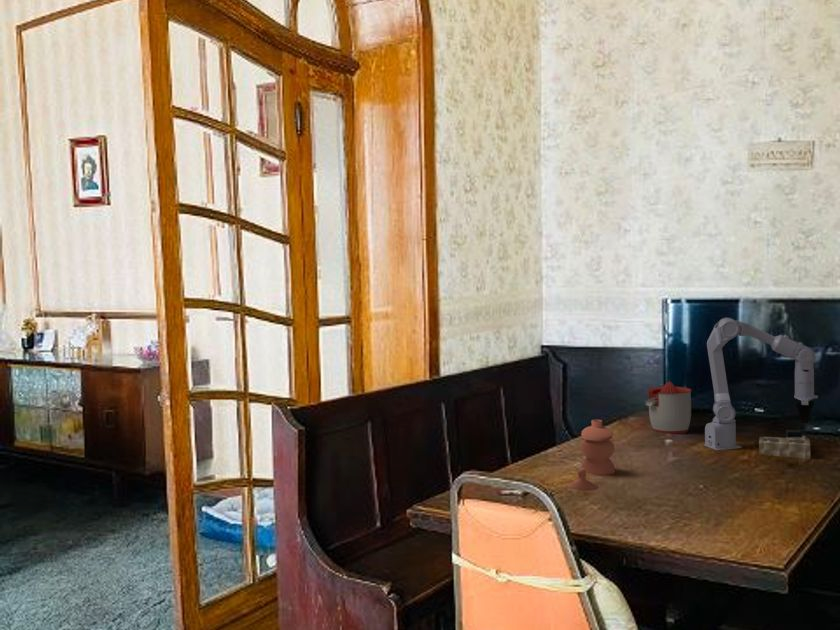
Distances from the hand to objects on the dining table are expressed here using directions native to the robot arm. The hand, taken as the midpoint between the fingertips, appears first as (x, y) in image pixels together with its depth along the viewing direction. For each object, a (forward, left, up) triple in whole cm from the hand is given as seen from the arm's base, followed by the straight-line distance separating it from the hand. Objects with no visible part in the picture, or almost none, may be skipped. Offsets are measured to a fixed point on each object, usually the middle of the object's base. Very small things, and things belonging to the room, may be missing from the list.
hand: (804, 422), depth 259 cm
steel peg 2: (-6, -4, -10) cm, 12 cm away
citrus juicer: (-26, +41, -10) cm, 50 cm away
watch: (+3, +9, -7) cm, 12 cm away
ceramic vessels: (-87, -18, -10) cm, 89 cm away
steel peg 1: (-12, +1, -10) cm, 16 cm away
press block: (-9, -2, -10) cm, 13 cm away
